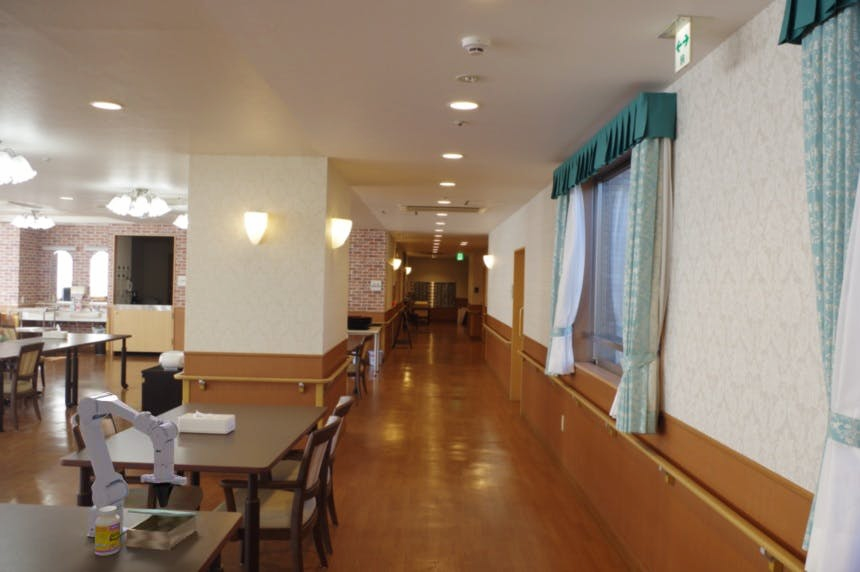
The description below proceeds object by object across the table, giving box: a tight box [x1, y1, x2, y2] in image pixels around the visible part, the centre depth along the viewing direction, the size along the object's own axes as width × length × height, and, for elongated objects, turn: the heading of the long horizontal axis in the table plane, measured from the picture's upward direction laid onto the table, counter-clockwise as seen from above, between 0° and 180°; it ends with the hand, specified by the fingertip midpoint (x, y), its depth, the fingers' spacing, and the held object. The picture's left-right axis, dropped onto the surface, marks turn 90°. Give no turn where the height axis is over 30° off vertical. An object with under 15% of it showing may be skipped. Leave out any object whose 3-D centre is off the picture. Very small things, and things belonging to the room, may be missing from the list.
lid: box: [127, 509, 198, 516], centre depth 198 cm, size 14×15×1 cm
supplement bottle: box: [94, 506, 121, 557], centre depth 188 cm, size 7×7×13 cm
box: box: [126, 514, 197, 551], centre depth 198 cm, size 14×15×5 cm
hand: (163, 506), depth 197 cm, fingers closed
